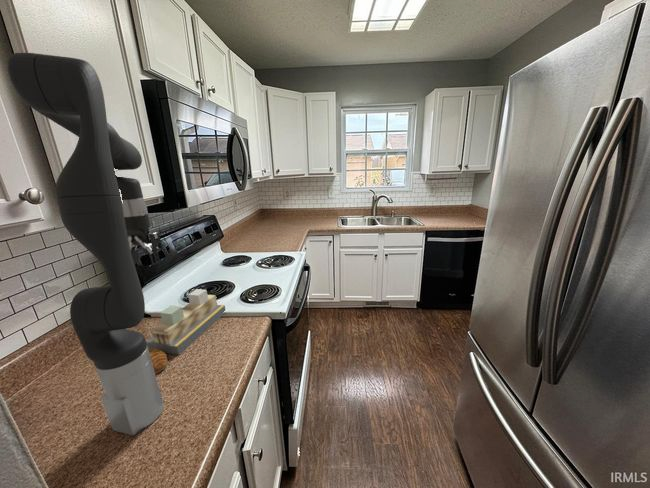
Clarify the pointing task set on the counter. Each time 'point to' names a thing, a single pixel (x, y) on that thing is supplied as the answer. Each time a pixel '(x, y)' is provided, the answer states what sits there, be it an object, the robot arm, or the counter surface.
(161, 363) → the pastry
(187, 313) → the beige blocky bar
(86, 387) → the counter surface
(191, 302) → the crate grey
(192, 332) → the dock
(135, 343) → the robot arm
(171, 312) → the crate sage
